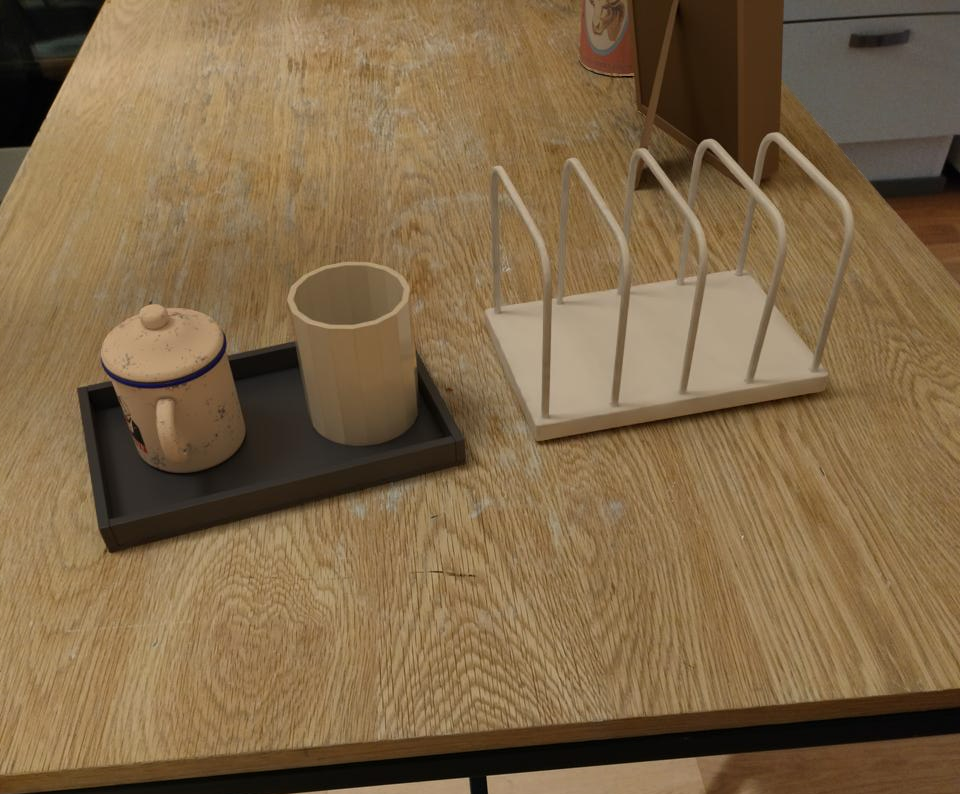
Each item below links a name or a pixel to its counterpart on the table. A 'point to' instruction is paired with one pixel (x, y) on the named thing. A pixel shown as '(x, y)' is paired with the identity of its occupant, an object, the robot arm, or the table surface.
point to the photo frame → (710, 75)
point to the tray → (251, 456)
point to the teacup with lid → (175, 388)
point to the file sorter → (656, 320)
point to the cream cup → (356, 351)
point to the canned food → (606, 36)
